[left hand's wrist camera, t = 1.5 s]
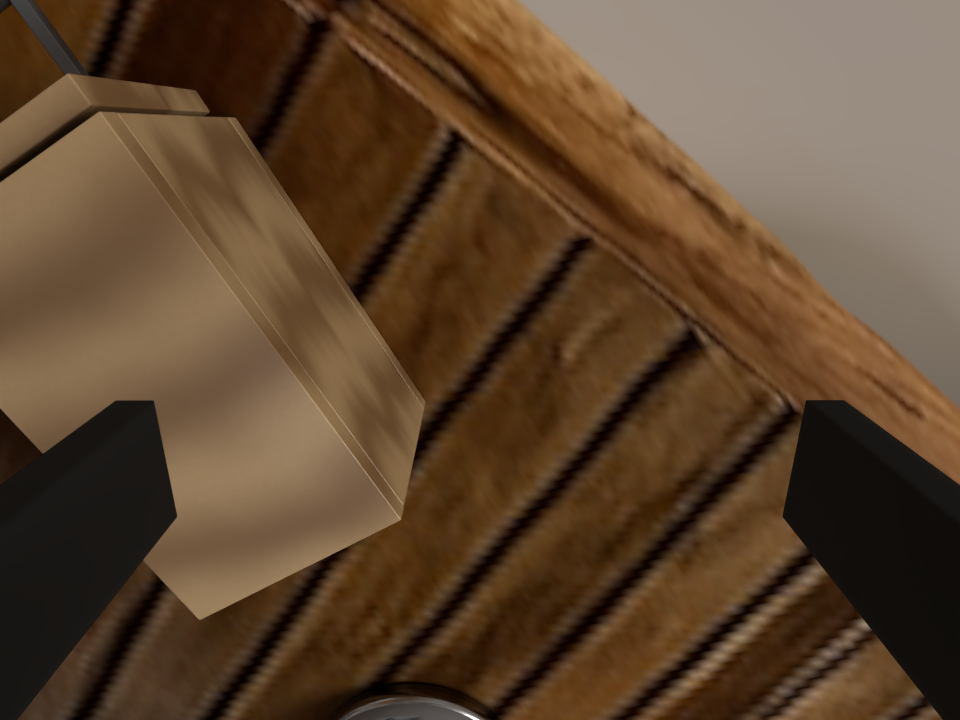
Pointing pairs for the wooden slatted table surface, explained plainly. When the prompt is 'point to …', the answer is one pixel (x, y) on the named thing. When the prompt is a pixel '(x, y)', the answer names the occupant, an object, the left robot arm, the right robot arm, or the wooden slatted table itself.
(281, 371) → the cabinet
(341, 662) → the wooden slatted table surface
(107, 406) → the left robot arm
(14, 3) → the drawer
